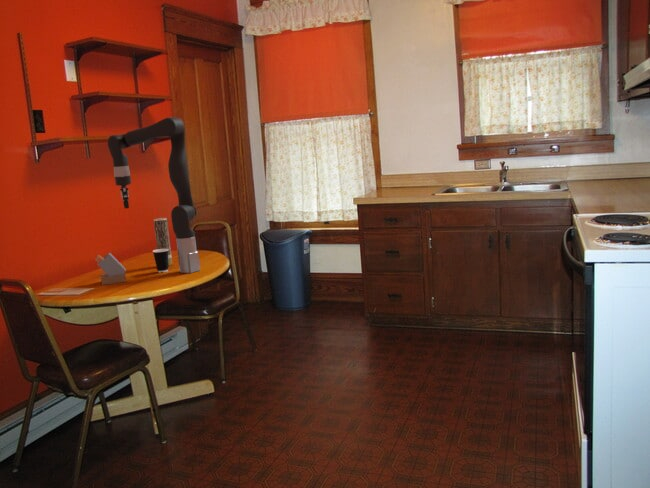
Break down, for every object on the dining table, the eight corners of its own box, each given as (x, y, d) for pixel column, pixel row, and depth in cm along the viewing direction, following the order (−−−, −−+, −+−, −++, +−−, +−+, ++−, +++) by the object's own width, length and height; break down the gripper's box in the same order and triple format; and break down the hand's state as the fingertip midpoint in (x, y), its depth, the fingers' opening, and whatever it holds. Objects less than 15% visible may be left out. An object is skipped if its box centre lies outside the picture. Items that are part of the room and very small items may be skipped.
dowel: (120, 268, 298) (99, 253, 294) (117, 272, 296) (95, 258, 292) (118, 270, 300) (97, 256, 296) (115, 274, 298) (93, 260, 294)
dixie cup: (173, 271, 311) (170, 249, 310) (158, 274, 307) (155, 252, 305) (168, 269, 318) (165, 248, 316) (152, 271, 314) (150, 250, 312)
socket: (126, 277, 304) (122, 250, 301) (127, 281, 295) (123, 253, 293) (100, 281, 300) (96, 253, 298) (100, 285, 292) (96, 256, 289)
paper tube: (174, 263, 331) (168, 217, 326) (169, 266, 324) (164, 219, 320) (162, 264, 332) (156, 218, 327) (157, 267, 325) (151, 220, 321)
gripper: (114, 175, 315) (118, 207, 318) (114, 176, 302) (119, 209, 305) (129, 174, 317) (133, 205, 320) (130, 175, 304) (134, 208, 307)
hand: (126, 207), depth 312 cm, fingers open, 8 cm apart
